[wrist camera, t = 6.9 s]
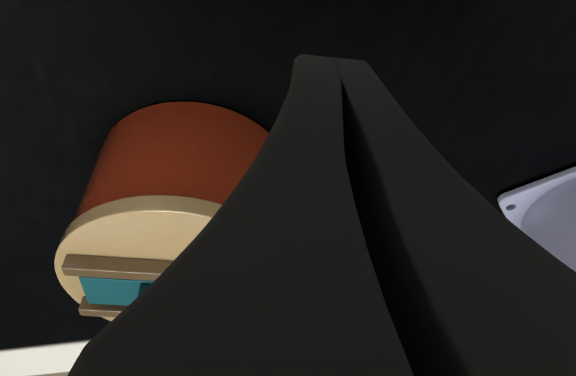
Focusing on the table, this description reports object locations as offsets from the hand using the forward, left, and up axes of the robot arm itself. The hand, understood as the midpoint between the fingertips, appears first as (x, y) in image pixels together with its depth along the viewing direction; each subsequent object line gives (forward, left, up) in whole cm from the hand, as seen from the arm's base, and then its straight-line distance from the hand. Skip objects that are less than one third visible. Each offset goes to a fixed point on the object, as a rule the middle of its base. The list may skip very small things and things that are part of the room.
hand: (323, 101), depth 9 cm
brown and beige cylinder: (-8, +12, -10) cm, 17 cm away
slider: (-6, +14, -3) cm, 15 cm away
